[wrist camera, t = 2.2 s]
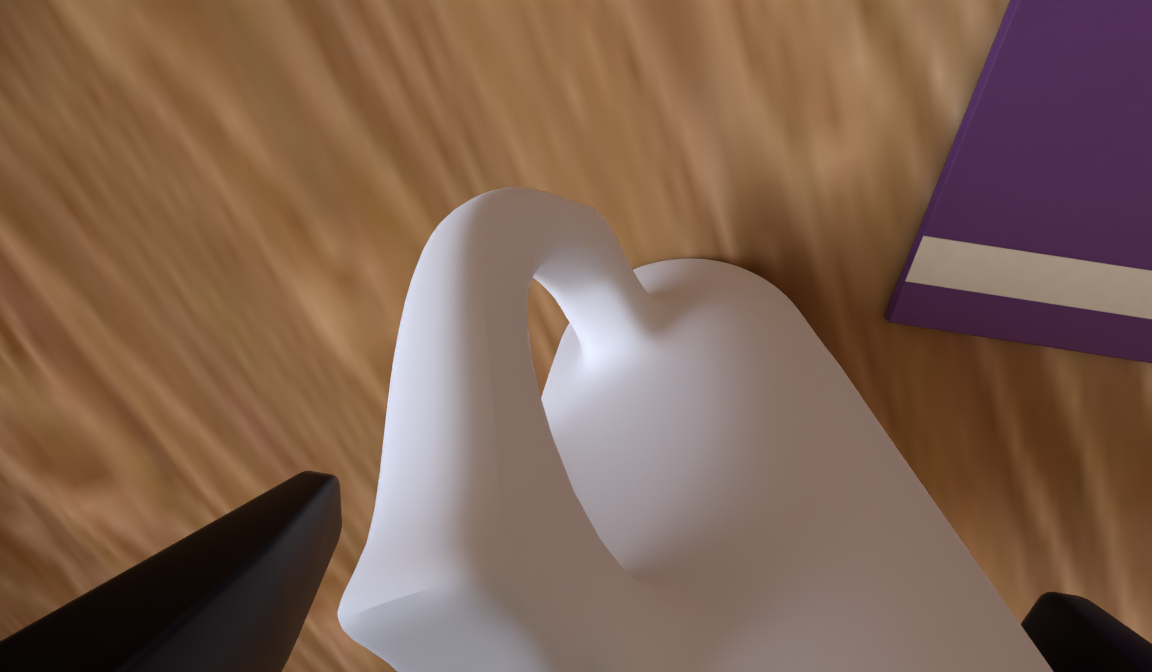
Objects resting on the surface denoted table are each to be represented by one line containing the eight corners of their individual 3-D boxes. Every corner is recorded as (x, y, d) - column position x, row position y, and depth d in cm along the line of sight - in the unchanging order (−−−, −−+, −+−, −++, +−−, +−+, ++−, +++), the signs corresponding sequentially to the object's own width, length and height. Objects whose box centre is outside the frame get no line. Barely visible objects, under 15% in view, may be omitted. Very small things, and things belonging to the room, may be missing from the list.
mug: (863, 436, 15) (1456, 1449, 4) (618, 518, 17) (594, 1371, 6) (706, 34, 11) (1992, -91, 1) (418, 194, 13) (-522, 861, 2)
